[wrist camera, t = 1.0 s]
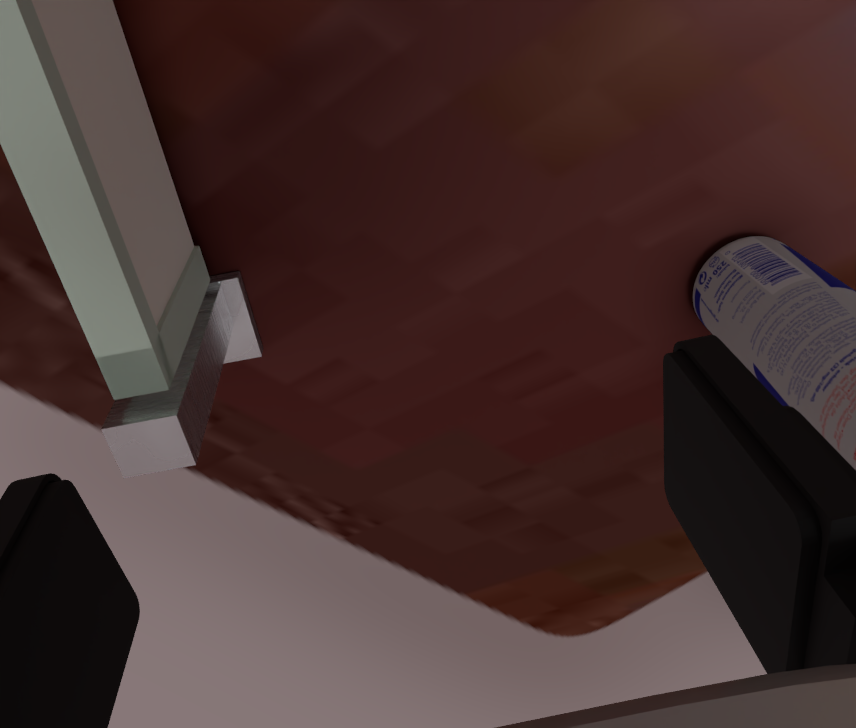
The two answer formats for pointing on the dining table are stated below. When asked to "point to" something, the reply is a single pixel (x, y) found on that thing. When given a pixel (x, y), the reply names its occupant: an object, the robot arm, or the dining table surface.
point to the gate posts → (185, 386)
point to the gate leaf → (99, 187)
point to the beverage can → (786, 330)
